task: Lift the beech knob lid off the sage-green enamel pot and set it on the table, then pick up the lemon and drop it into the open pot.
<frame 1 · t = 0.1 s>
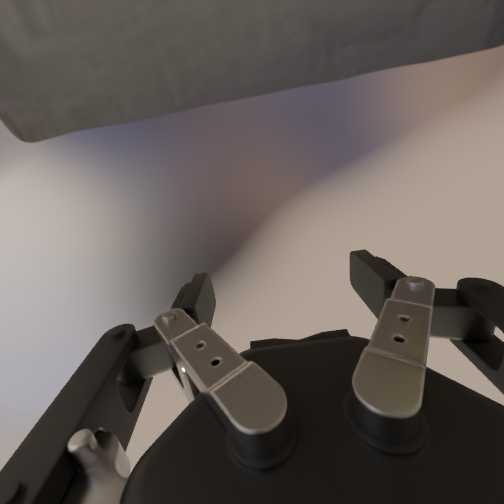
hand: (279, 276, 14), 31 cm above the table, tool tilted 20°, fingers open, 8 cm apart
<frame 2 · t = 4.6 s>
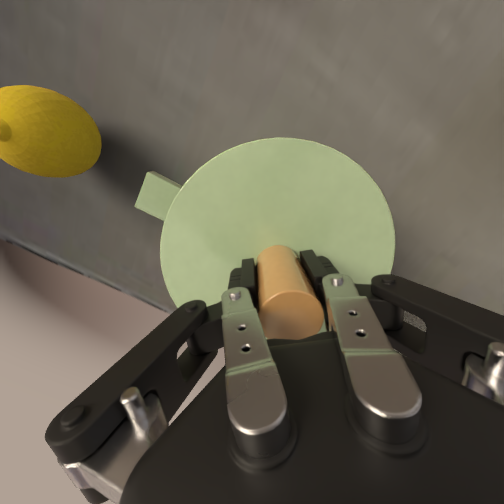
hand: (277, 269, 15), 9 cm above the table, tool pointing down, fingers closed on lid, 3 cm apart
lid: (276, 261, 16), point 8 cm above the table, touching gripper, pot
pot: (268, 228, 23), on the table
lemon: (88, 139, 21), on the table
when the fingers open (2 cm above the table, at t = 11.6 s): lid stays where it is, point 1 cm above the table.
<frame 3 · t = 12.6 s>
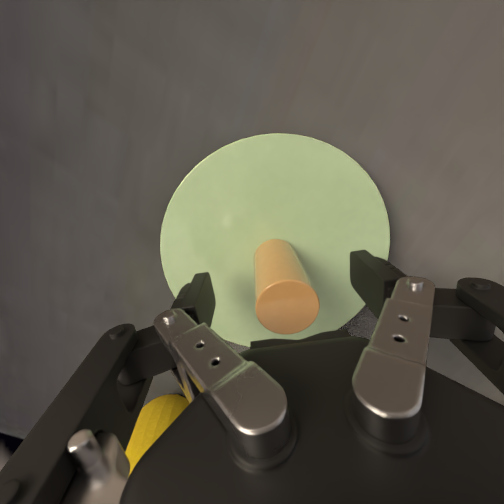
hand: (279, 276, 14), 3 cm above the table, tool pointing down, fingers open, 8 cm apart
lid: (274, 255, 16), point 1 cm above the table
lemon: (177, 393, 22), on the table
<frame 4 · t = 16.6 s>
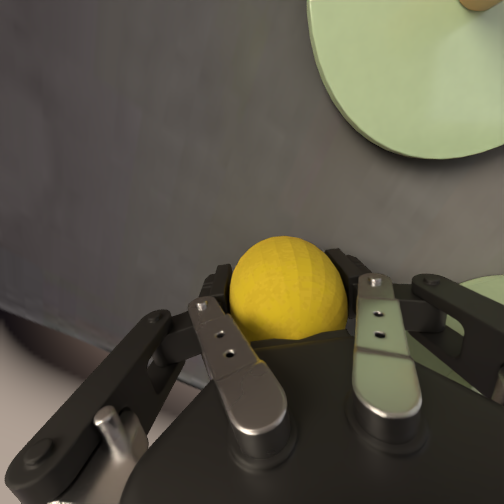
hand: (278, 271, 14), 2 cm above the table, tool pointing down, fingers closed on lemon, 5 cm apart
pot: (472, 353, 19), on the table
lemon: (276, 260, 16), on the table, touching gripper
when the fingers open (6 cm above the table, at t = 23.4 s): lemon drops 4 cm, resting on pot.
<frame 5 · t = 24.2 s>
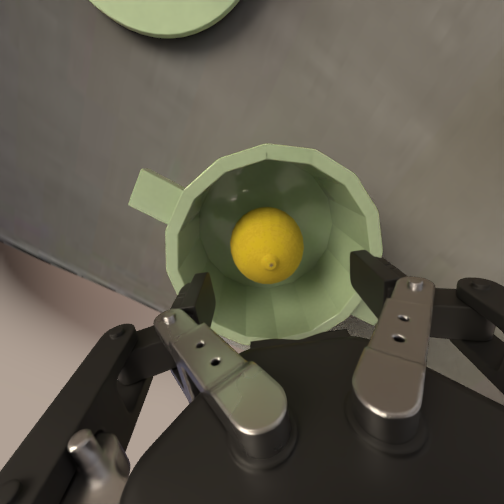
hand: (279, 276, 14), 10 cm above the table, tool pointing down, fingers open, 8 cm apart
pot: (265, 228, 23), on the table
lemon: (263, 229, 23), resting on pot
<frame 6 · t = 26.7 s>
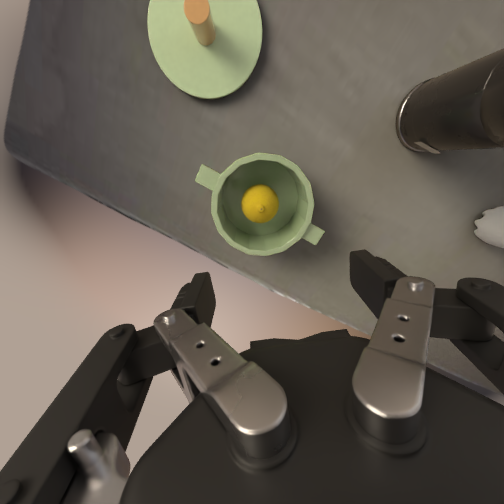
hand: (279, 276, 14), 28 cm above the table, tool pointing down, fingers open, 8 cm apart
bottle: (487, 222, 42), on the table
lid: (206, 34, 32), point 1 cm above the table
pot: (260, 198, 40), on the table
lemon: (258, 199, 40), resting on pot
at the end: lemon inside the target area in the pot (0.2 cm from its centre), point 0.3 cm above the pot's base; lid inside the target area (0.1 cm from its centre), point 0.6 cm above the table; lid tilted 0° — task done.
